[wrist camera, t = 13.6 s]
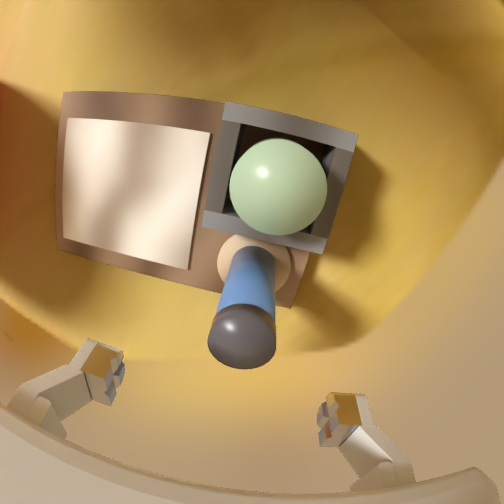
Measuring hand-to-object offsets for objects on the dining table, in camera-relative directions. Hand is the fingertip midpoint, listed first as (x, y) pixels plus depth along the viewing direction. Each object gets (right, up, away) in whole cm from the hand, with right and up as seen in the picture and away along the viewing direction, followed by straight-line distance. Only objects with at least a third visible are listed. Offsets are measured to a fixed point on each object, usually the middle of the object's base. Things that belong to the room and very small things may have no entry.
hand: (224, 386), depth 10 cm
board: (-4, +9, +10) cm, 14 cm away
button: (+2, +9, +6) cm, 11 cm away
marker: (+1, +4, +10) cm, 11 cm away
